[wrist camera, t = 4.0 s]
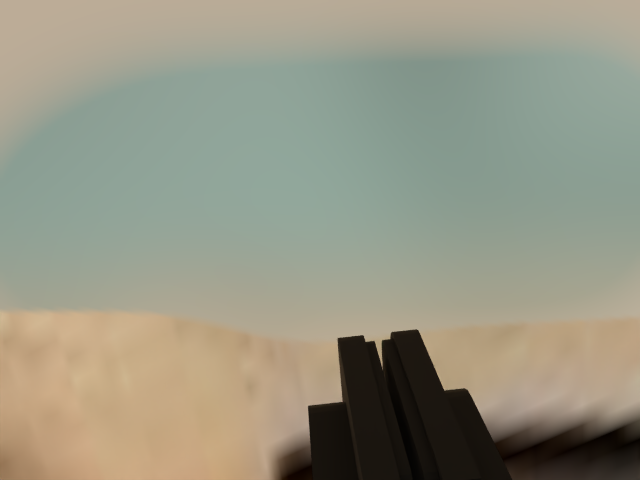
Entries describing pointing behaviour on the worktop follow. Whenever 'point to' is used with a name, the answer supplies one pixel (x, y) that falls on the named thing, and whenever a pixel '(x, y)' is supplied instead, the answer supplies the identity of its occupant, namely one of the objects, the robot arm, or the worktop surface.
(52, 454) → the worktop surface
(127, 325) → the worktop surface
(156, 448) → the worktop surface
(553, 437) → the worktop surface
